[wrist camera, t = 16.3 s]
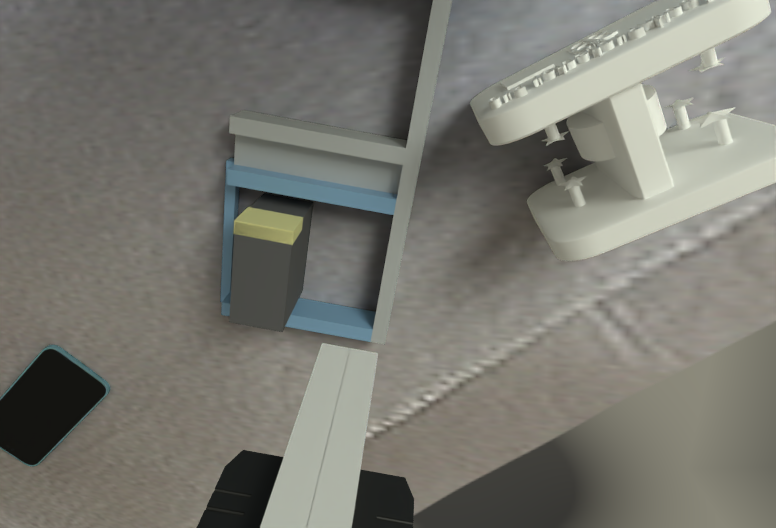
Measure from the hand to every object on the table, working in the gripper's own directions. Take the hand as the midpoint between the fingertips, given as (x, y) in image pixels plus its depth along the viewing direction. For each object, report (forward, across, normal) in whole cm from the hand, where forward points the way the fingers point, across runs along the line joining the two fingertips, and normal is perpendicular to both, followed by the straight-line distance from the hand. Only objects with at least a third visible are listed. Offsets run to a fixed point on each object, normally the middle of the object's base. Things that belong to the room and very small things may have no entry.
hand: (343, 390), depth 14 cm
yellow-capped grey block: (+29, -8, -9) cm, 31 cm away
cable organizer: (+29, +13, +6) cm, 32 cm away
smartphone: (+29, -30, -31) cm, 52 cm away
